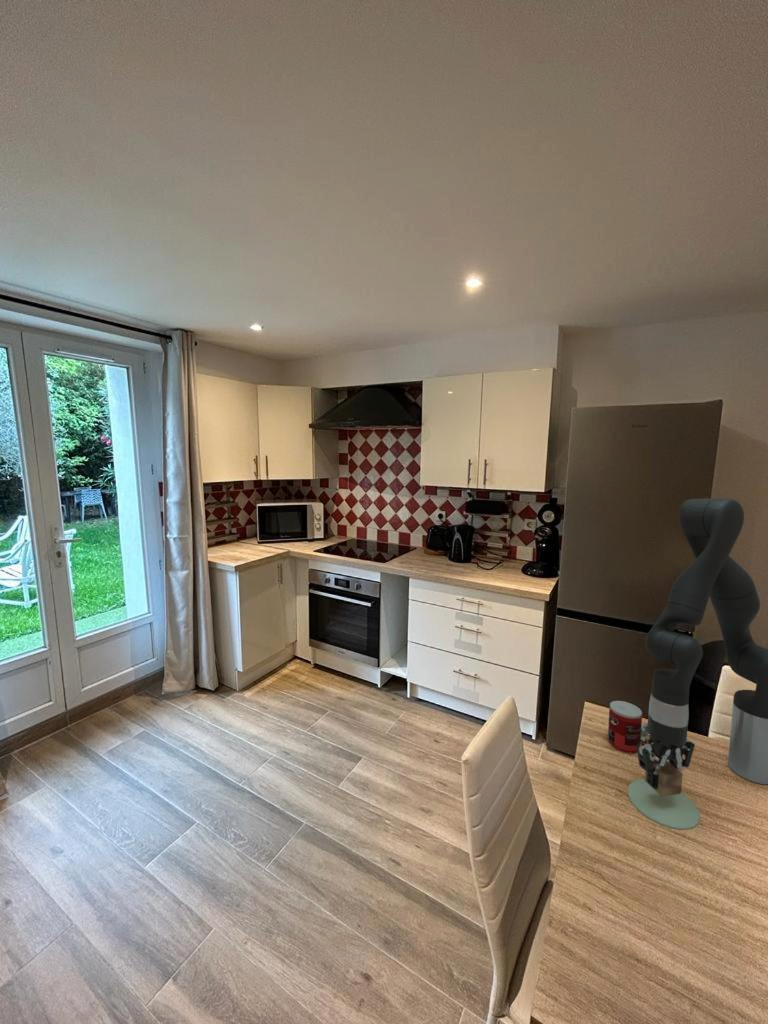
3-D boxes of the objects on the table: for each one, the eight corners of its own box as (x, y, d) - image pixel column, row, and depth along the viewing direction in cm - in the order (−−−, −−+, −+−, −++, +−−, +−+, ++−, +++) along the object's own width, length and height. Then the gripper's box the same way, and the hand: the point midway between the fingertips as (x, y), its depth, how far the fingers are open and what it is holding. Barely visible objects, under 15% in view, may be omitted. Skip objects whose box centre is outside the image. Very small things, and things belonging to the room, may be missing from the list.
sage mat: (662, 777, 106) (662, 775, 106) (715, 823, 92) (716, 820, 92) (614, 786, 103) (614, 784, 103) (662, 834, 90) (662, 832, 90)
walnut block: (662, 777, 100) (664, 758, 100) (681, 793, 96) (682, 773, 95) (644, 780, 99) (646, 761, 99) (662, 796, 95) (664, 776, 94)
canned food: (610, 732, 124) (612, 697, 123) (641, 743, 119) (644, 707, 118) (604, 745, 118) (606, 709, 117) (637, 757, 113) (639, 719, 112)
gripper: (679, 703, 101) (674, 768, 102) (628, 710, 98) (623, 777, 100) (709, 722, 93) (703, 792, 95) (654, 730, 91) (649, 802, 92)
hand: (662, 784), depth 97 cm, fingers closed on walnut block, 5 cm apart
